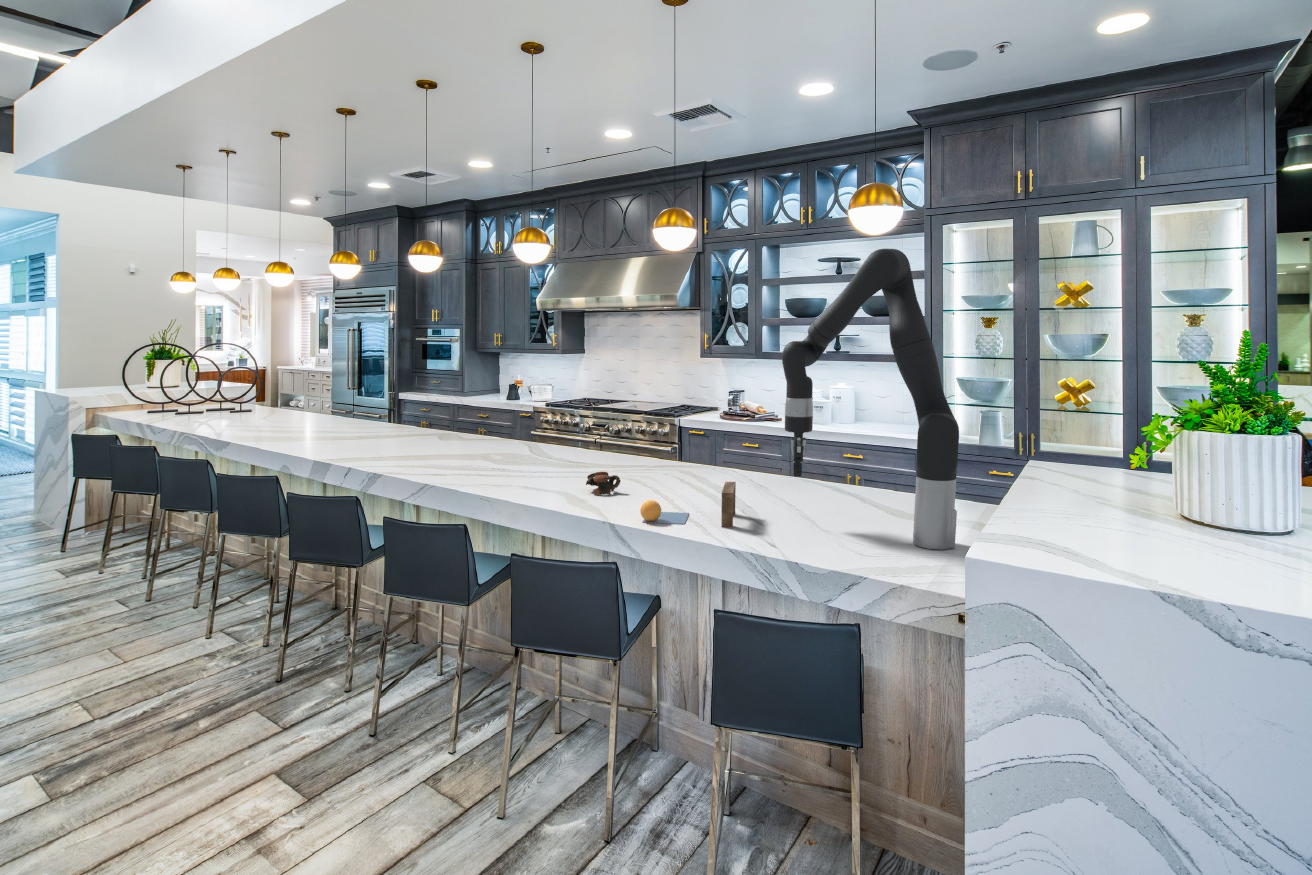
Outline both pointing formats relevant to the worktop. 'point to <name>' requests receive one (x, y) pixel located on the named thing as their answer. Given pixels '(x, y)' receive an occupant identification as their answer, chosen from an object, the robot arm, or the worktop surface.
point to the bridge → (728, 504)
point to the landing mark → (670, 518)
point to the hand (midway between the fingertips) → (797, 475)
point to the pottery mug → (603, 482)
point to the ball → (650, 510)
